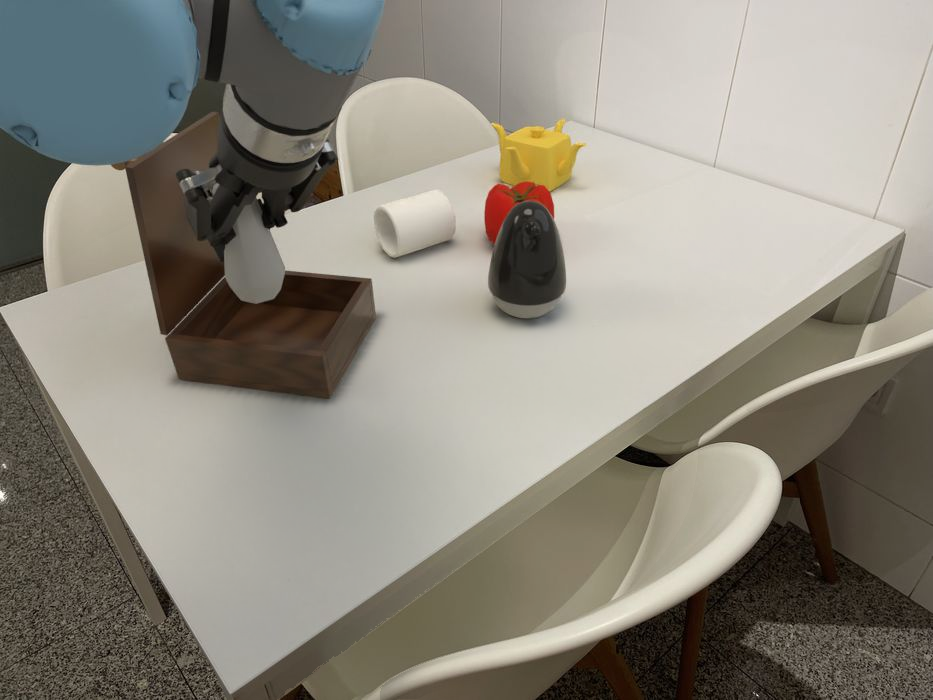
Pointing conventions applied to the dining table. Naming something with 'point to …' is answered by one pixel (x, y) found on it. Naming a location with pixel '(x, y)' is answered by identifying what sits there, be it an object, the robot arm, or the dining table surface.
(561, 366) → the dining table surface
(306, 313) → the wooden box
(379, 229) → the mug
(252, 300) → the salt shaker
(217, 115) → the lid
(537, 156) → the teapot
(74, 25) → the robot arm
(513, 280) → the black tumbler egg
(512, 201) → the tomato
